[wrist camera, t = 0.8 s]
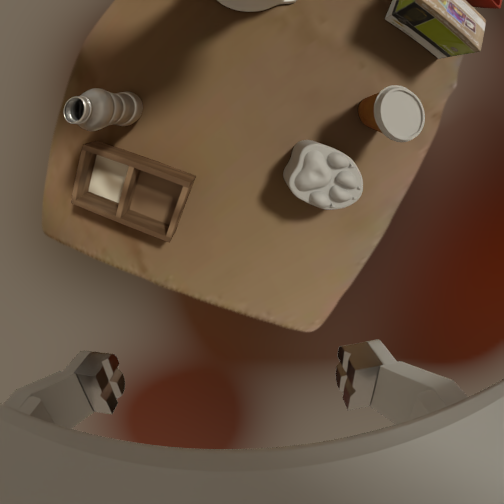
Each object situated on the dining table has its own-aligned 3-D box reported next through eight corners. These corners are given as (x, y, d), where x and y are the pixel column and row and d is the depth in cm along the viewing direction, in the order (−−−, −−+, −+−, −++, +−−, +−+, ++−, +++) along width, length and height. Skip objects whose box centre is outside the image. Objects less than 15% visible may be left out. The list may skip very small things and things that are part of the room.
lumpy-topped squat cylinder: (299, 133, 48) (310, 136, 40) (359, 162, 50) (377, 171, 43) (277, 183, 52) (284, 195, 45) (337, 208, 55) (351, 224, 47)
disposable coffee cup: (351, 136, 48) (379, 142, 37) (348, 88, 44) (375, 82, 33) (394, 136, 48) (427, 144, 37) (391, 90, 43) (425, 88, 33)
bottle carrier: (97, 140, 47) (83, 144, 42) (196, 176, 51) (190, 182, 46) (84, 195, 51) (70, 203, 46) (175, 230, 56) (169, 242, 51)
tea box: (446, 30, 35) (488, 21, 22) (437, 59, 39) (482, 54, 26) (393, -10, 32) (429, -32, 19) (382, 19, 36) (420, -1, 23)
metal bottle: (135, 85, 42) (80, 74, 24) (152, 112, 45) (103, 112, 27) (109, 106, 44) (48, 108, 26) (126, 132, 46) (69, 145, 29)
